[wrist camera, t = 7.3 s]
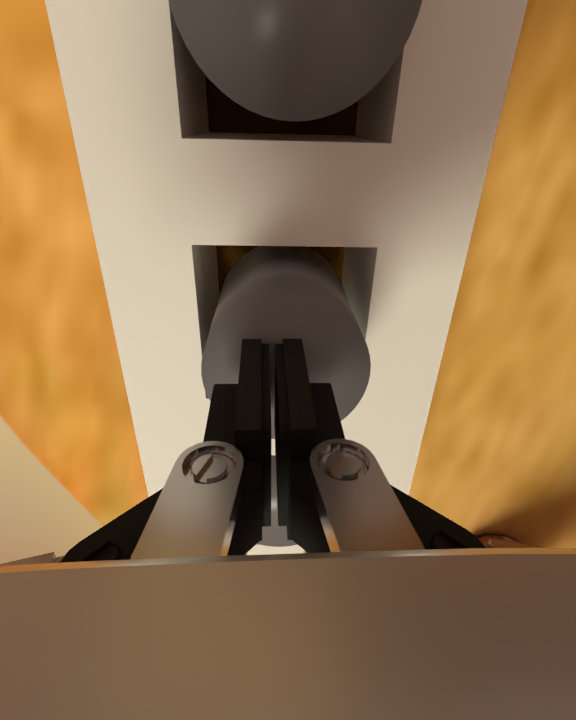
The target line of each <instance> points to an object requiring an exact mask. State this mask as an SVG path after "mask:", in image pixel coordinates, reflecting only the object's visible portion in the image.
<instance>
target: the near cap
mask: <svg viewBox="0 0 576 720" xmlns="http://www.w3.org/2000/svg"><path fill="white" fill-rule="evenodd" d="M169 4H170V8H171V11H172V14H173V16H174V19H175V22H176V25H177V28H178V30H179V32H180V34H181V36H182V38H183V40H184V42H185V45H186V47H187V48H188V50H189V52H190V53H191V55H192V56H193V58H194V60H195V61H196V63H197V64H198V66H199V67H200V68H201V70H202V71H203V72H204V73H205V75H206V76H207V77H208V79H209V80H210V81H211V82H212V83H213V84H214V85H215V86H216V87H217V88H218V89H219V90H220V91H221V92H223V93H224V94H225V95H226V96H228V97H229V98H230V99H231V100H233V101H234V102H236V103H237V104H239V105H241V106H242V107H244V108H246V109H247V110H249V111H252V112H254V113H256V114H259V115H261V116H264V117H268V118H272V119H276V120H282V121H292V122H294V121H309V120H314V119H319V118H324V117H326V116H329V115H332V114H335V113H337V112H339V111H341V110H343V109H345V108H347V107H349V106H351V105H352V104H354V103H355V102H356V101H358V100H359V99H361V98H362V97H363V96H365V95H366V94H367V93H368V92H369V91H370V90H371V89H372V88H374V87H375V86H376V85H377V84H378V83H379V82H380V80H381V79H382V78H383V77H384V76H385V75H386V73H387V72H388V71H389V70H390V68H391V67H392V65H393V64H394V62H395V61H396V60H397V58H398V57H399V55H400V54H401V52H402V50H403V48H404V46H405V44H406V42H407V40H408V38H409V37H410V34H411V32H412V29H413V27H414V24H415V22H416V20H417V17H418V14H419V10H420V7H421V4H422V0H169Z"/></svg>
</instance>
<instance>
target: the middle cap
mask: <svg viewBox="0 0 576 720" xmlns="http://www.w3.org/2000/svg"><path fill="white" fill-rule="evenodd" d="M242 339H261V340H262V344H269V359H270V394H271V439H275V428H274V410H275V344H282V340H283V339H302V343H303V348H304V354H305V359H306V365H307V371H308V376H309V382H310V383H331V386H332V390H333V393H334V397H335V401H336V405H337V409H338V413H339V417H340V421H342V420H343V419H344V418H346V417H347V416H348V415H349V414H350V413H351V412H352V411H353V410H354V409H355V407H356V406H357V405H358V403H359V402H360V400H361V399H362V397H363V395H364V393H365V391H366V388H367V385H368V382H369V377H370V369H371V363H370V354H369V350H368V346H367V344H366V341H365V339H364V337H363V334H362V332H361V330H360V327H359V325H358V322H357V320H356V318H355V315H354V313H353V311H352V308H351V306H350V304H349V301H348V299H347V296H346V294H345V292H344V289H343V287H342V285H341V282H340V280H339V277H338V275H337V273H336V272H335V270H334V268H333V267H332V266H331V264H330V263H329V262H328V261H327V260H326V259H325V258H324V257H323V256H322V255H320V254H319V253H318V252H316V251H314V250H313V249H311V248H309V247H306V246H258V247H256V248H254V249H252V250H250V251H248V252H247V253H245V254H244V255H243V256H242V257H240V258H239V259H238V260H237V261H236V262H235V263H234V265H233V266H232V267H231V269H230V270H229V272H228V273H227V276H226V278H225V280H224V283H223V286H222V290H221V293H220V297H219V300H218V304H217V307H216V311H215V314H214V317H213V321H212V324H211V328H210V331H209V335H208V338H207V342H206V345H205V349H204V352H203V355H202V363H201V375H202V381H203V385H204V388H205V391H206V394H207V396H208V398H209V400H210V402H211V397H212V391H213V386H214V384H238V380H239V369H240V358H241V348H242Z"/></svg>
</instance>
